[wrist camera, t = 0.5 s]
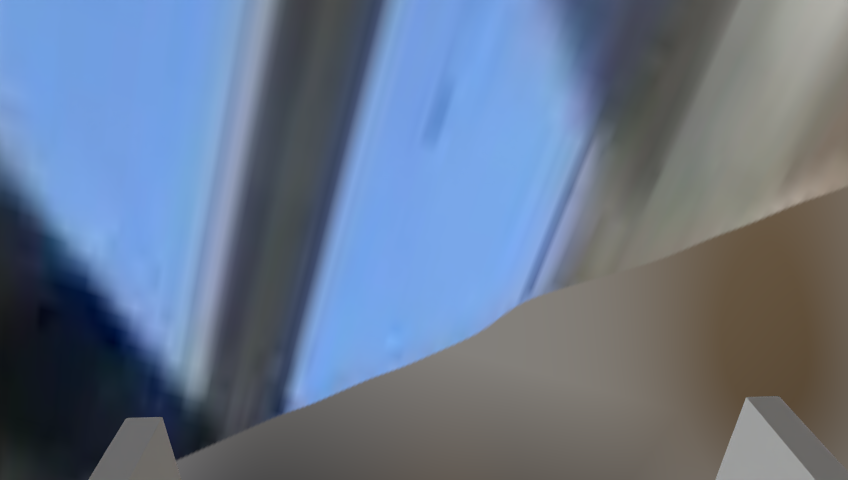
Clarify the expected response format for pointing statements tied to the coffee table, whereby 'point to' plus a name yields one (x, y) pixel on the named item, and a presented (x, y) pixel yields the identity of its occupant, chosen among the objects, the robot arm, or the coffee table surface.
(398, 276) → the coffee table surface
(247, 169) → the coffee table surface
